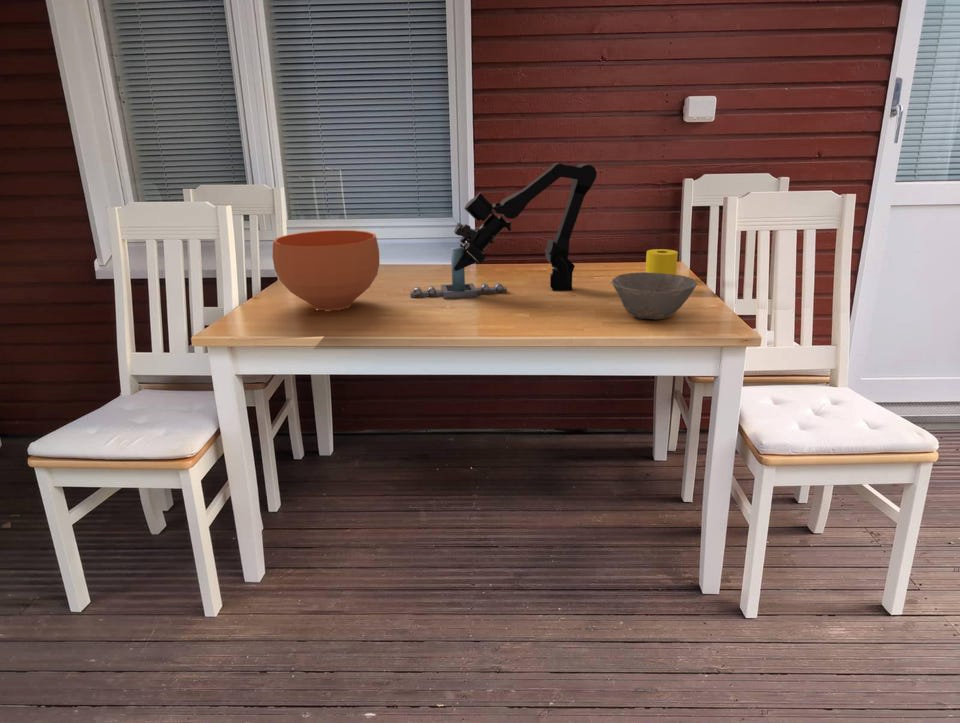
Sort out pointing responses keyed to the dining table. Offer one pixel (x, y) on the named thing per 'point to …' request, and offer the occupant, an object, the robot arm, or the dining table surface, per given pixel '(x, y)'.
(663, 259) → the tape roll
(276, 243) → the flowerpot
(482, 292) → the grey square frame handle
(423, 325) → the dining table surface
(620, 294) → the ceramic bowl
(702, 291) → the dining table surface
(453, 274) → the pin
